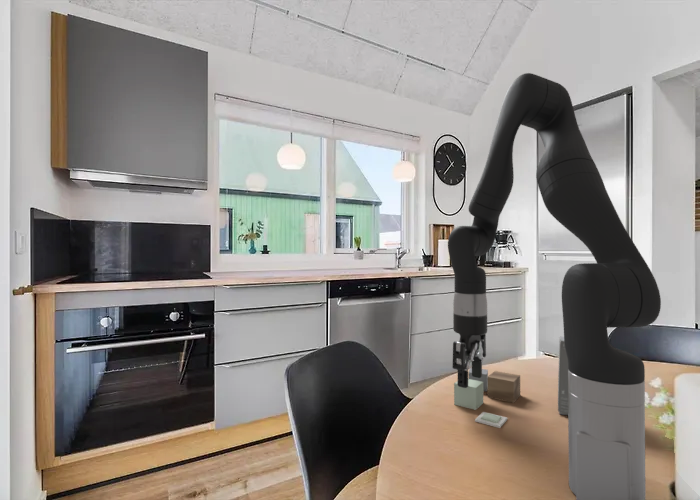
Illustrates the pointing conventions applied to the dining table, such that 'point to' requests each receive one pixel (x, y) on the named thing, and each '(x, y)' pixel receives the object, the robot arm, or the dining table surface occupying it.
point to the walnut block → (504, 386)
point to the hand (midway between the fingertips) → (470, 381)
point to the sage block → (469, 394)
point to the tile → (491, 419)
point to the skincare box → (562, 379)
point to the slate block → (481, 378)
